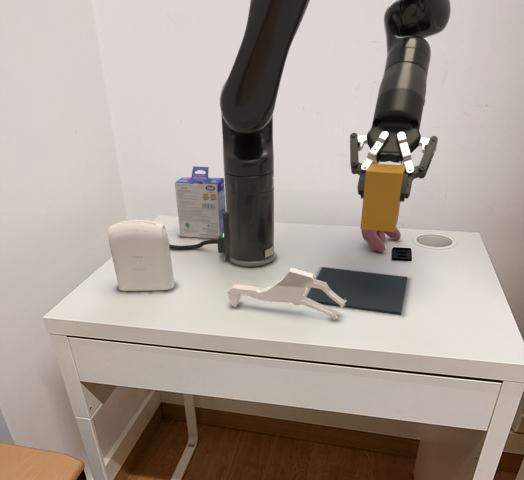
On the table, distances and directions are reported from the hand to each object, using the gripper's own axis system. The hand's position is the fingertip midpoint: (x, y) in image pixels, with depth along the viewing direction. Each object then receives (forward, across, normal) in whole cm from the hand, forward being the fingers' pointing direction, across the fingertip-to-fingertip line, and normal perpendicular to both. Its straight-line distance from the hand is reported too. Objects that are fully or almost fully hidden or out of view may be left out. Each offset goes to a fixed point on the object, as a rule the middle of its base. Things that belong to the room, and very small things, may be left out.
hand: (382, 197), depth 75 cm
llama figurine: (+20, -12, +4) cm, 24 cm away
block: (+3, 0, +4) cm, 5 cm away
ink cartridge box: (-1, -40, +25) cm, 47 cm away
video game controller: (-5, -1, +29) cm, 29 cm away
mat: (+11, -2, +12) cm, 17 cm away
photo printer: (+19, -39, +5) cm, 44 cm away
